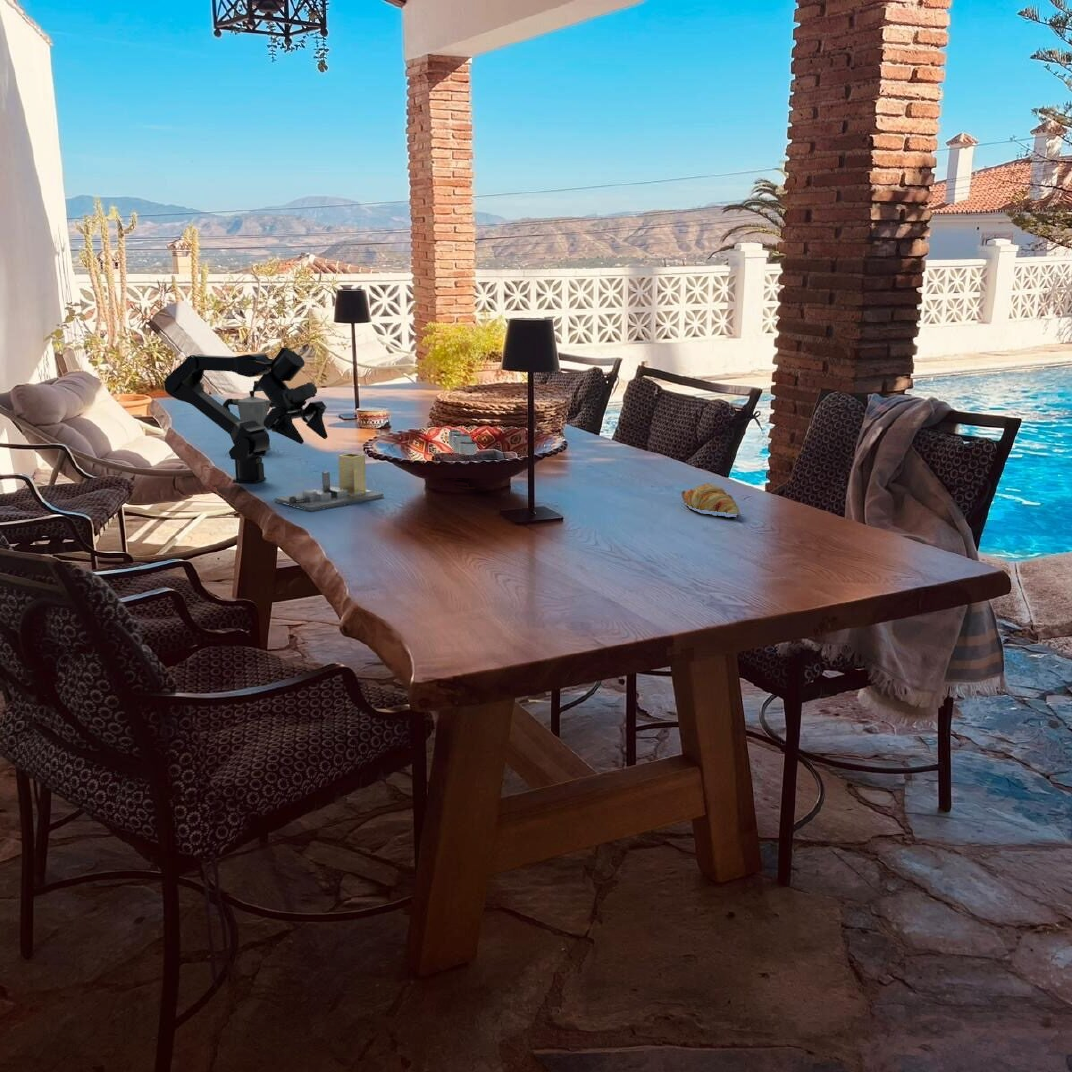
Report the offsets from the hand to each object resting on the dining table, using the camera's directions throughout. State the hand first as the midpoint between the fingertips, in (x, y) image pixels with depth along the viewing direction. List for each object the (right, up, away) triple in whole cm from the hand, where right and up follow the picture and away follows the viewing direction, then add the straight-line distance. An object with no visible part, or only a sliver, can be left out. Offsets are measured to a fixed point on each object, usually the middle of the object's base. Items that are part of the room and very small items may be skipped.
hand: (314, 440), depth 262 cm
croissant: (+97, -19, -13) cm, 100 cm away
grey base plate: (+5, -15, -9) cm, 19 cm away
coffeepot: (-32, +3, +59) cm, 67 cm away
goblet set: (+34, -9, +19) cm, 40 cm away
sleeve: (+10, -13, -4) cm, 17 cm away
